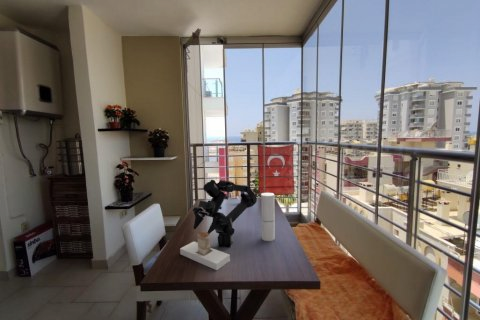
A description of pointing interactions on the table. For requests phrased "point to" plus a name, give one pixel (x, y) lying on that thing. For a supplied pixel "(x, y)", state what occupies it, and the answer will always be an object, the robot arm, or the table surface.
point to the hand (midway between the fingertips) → (200, 231)
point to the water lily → (239, 196)
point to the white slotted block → (211, 259)
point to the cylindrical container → (268, 216)
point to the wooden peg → (203, 243)
